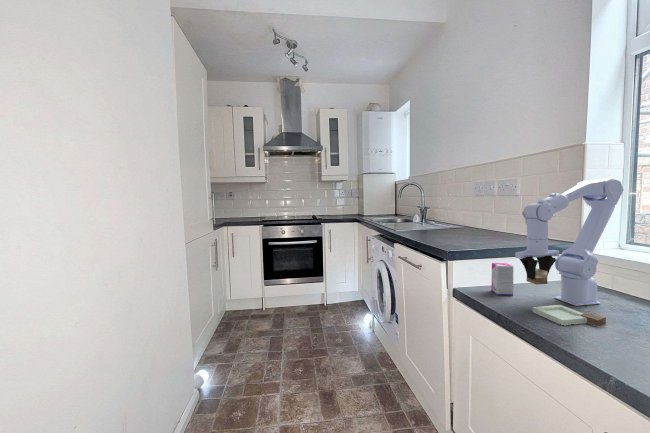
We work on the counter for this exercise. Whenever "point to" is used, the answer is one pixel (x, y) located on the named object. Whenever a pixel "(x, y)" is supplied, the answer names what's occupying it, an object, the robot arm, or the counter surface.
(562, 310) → the base plate
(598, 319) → the walnut brick
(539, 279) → the tan cube
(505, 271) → the supplement box
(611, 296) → the counter surface
